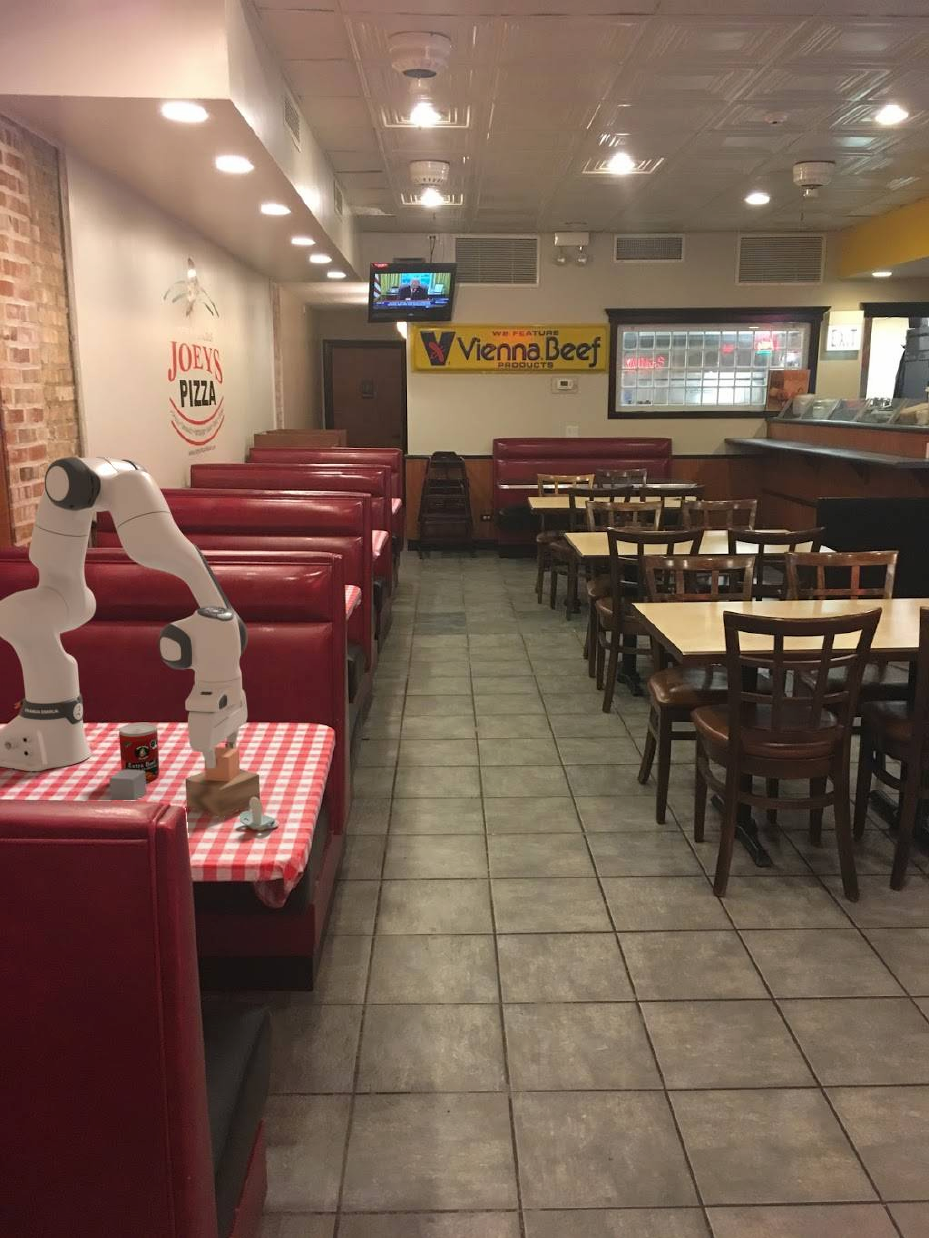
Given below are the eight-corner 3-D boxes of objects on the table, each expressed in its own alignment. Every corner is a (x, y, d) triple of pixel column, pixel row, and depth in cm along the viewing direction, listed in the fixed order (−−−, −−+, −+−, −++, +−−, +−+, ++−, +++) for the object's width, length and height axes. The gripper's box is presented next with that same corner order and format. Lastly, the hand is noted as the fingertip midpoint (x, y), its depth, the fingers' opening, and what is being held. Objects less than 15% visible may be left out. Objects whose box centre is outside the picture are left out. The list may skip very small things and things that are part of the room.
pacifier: (259, 817, 182) (235, 826, 178) (259, 786, 181) (235, 794, 177) (286, 826, 178) (262, 836, 174) (286, 795, 177) (262, 804, 172)
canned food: (125, 786, 197) (121, 735, 195) (119, 773, 204) (116, 724, 202) (163, 780, 200) (160, 730, 198) (156, 768, 207) (153, 720, 205)
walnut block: (186, 807, 187) (185, 778, 186) (226, 792, 195) (224, 764, 194) (221, 819, 181) (219, 789, 180) (260, 803, 189) (259, 774, 188)
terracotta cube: (205, 779, 185) (204, 755, 184) (216, 771, 190) (215, 747, 189) (229, 781, 184) (228, 757, 183) (239, 772, 189) (238, 748, 188)
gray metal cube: (111, 801, 189) (109, 778, 188) (123, 792, 194) (121, 769, 193) (134, 803, 188) (133, 779, 187) (146, 793, 193) (145, 770, 192)
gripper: (224, 676, 194) (226, 741, 197) (180, 704, 174) (184, 775, 177) (253, 678, 193) (256, 742, 196) (213, 706, 173) (216, 777, 176)
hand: (221, 758), depth 186 cm, fingers open, 8 cm apart
